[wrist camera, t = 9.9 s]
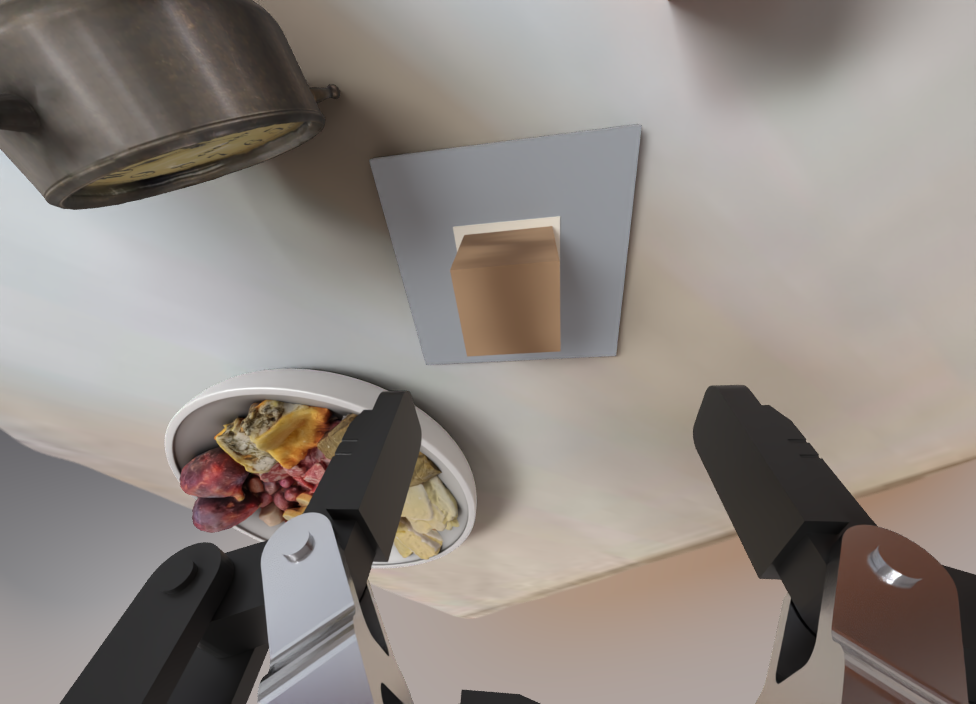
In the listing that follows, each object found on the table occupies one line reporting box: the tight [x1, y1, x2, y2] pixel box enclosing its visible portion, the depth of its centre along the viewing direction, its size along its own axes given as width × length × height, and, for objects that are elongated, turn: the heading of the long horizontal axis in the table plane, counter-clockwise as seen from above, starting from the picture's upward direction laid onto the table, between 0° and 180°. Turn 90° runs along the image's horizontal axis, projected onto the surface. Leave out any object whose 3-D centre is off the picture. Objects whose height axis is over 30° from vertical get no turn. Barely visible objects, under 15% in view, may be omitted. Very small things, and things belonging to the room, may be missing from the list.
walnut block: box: [450, 226, 561, 357], centre depth 22 cm, size 6×6×6 cm
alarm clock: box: [0, 0, 340, 210], centre depth 13 cm, size 11×5×16 cm, turn 108°
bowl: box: [165, 368, 477, 568], centre depth 37 cm, size 30×30×8 cm
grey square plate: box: [369, 124, 642, 365], centre depth 24 cm, size 15×15×1 cm
